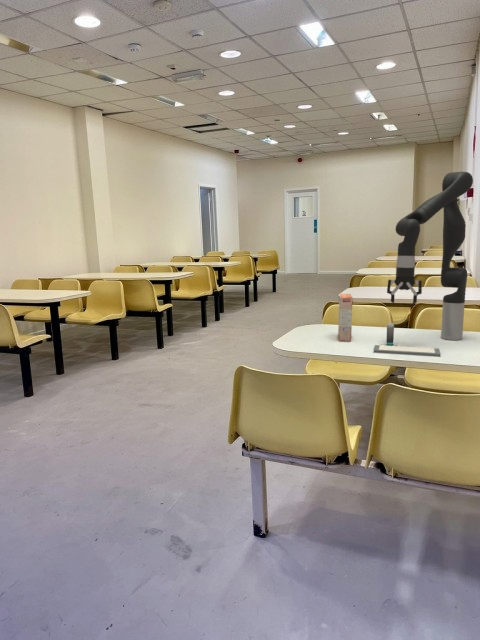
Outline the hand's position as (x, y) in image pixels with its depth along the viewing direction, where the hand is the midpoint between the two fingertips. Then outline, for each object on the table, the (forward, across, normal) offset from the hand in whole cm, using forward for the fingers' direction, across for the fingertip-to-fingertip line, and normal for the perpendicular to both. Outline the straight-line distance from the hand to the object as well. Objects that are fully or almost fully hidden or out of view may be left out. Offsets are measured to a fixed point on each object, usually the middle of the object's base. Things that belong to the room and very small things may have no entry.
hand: (403, 303), depth 204 cm
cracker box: (+19, +25, -11) cm, 34 cm away
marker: (+19, +5, 0) cm, 20 cm away
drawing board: (+19, -2, +10) cm, 22 cm away
